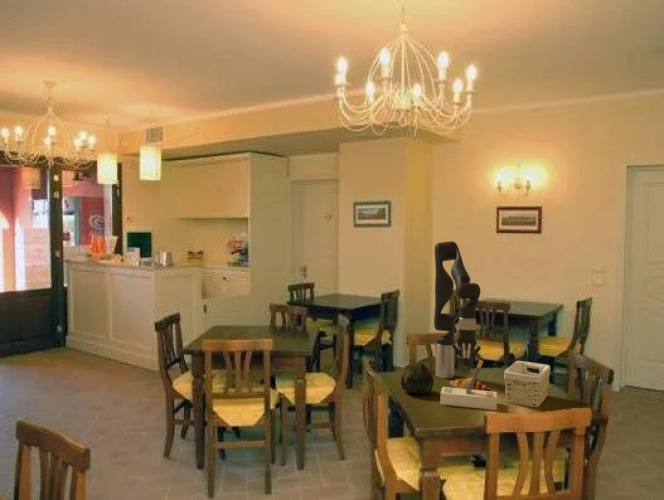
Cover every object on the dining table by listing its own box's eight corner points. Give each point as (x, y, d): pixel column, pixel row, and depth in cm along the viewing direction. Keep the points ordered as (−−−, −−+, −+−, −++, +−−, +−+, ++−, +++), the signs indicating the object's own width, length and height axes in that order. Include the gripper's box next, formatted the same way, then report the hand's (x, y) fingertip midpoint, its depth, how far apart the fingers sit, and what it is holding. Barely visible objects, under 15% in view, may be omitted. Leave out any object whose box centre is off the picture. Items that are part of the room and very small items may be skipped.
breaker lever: (467, 388, 245) (479, 359, 243) (470, 390, 245) (483, 361, 243) (467, 390, 243) (479, 361, 241) (470, 392, 242) (482, 362, 240)
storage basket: (539, 409, 237) (540, 376, 237) (501, 402, 246) (502, 370, 245) (550, 395, 257) (551, 364, 257) (515, 389, 266) (516, 359, 266)
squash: (395, 376, 267) (404, 358, 257) (423, 375, 271) (433, 358, 261) (402, 402, 257) (411, 384, 247) (431, 401, 261) (442, 384, 251)
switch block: (443, 391, 262) (444, 376, 261) (496, 396, 255) (496, 381, 254) (440, 404, 243) (440, 388, 242) (496, 410, 236) (496, 394, 236)
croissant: (447, 394, 269) (443, 381, 266) (455, 380, 275) (452, 368, 272) (488, 402, 255) (485, 389, 252) (496, 388, 262) (492, 375, 259)
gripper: (482, 327, 245) (481, 365, 246) (452, 325, 248) (451, 362, 249) (482, 330, 238) (481, 369, 238) (451, 328, 241) (450, 366, 242)
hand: (466, 365), depth 244 cm, fingers closed
